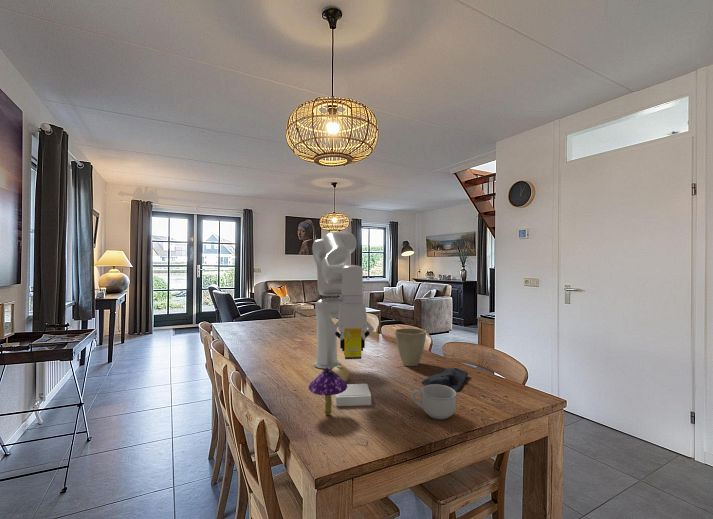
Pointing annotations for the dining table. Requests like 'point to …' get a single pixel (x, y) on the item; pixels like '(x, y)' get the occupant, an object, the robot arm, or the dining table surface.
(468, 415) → the dining table surface
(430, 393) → the teacup
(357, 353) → the supplement box
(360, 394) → the blank white picture frame
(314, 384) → the decorative mushroom
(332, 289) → the robot arm
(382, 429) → the dining table surface
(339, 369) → the onion
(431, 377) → the dark slate chunk
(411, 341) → the plant pot
